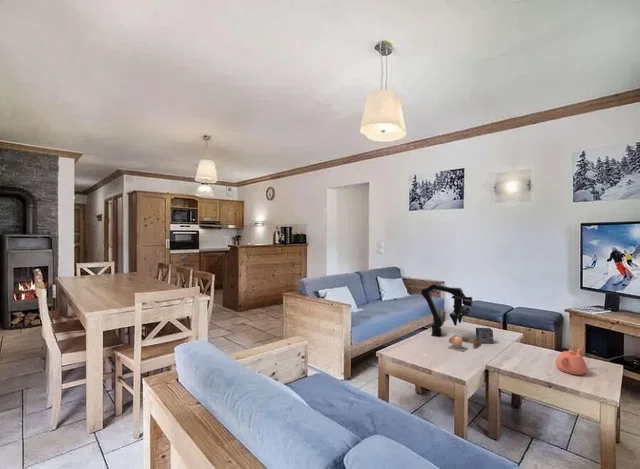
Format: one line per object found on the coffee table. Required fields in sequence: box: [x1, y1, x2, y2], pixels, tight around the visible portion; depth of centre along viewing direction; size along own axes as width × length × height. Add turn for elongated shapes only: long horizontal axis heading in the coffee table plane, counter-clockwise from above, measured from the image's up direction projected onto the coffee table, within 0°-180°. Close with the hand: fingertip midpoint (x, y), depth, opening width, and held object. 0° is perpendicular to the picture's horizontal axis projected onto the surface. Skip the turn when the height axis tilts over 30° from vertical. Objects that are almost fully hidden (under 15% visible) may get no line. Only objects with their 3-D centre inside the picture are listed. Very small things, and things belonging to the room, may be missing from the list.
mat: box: [448, 344, 469, 353], centre depth 232 cm, size 11×9×1 cm
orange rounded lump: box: [555, 347, 588, 376], centre depth 195 cm, size 22×15×12 cm
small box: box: [475, 327, 494, 345], centre depth 244 cm, size 11×6×10 cm, turn 84°
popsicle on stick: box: [450, 335, 463, 349], centre depth 232 cm, size 5×8×8 cm, turn 47°
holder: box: [448, 334, 481, 349], centre depth 241 cm, size 18×11×3 cm, turn 47°
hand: (457, 324), depth 250 cm, fingers open, 9 cm apart
